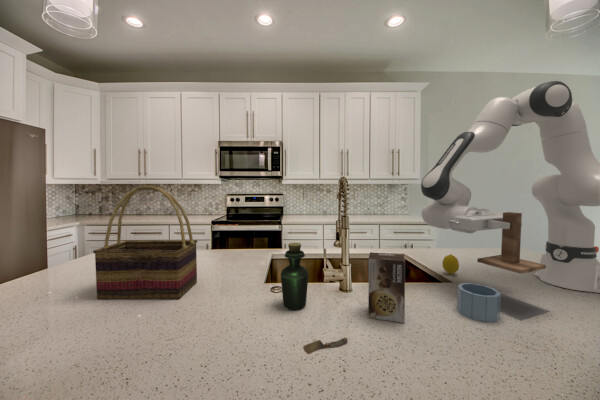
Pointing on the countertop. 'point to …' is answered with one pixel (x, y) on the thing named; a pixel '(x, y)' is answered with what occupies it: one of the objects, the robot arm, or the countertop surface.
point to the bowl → (478, 302)
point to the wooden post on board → (511, 249)
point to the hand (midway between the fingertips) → (515, 225)
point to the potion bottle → (294, 279)
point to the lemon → (450, 264)
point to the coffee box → (386, 287)
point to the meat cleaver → (319, 345)
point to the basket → (146, 262)
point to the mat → (519, 308)
